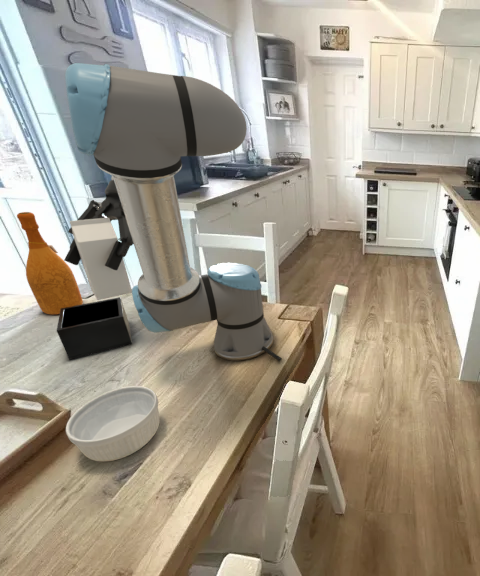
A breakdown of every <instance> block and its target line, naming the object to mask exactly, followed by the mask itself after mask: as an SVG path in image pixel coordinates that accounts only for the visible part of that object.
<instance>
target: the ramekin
mask: <svg viewBox="0 0 480 576" xmlns="http://www.w3.org/2000/svg"><path fill="white" fill-rule="evenodd" d="M159 426H160V412H159V398H158V396H157V394H156V392H155V391H154V390H153V389H152V388H149V387H147V386H143V385H128V386H123V387H119V388H115V389H112V390H108V391H106V392H104V393H102V394H100V395H97V396H95V397H93V398H92V399H90V400H88V401H86V403H84V404H83V405H81V406H80V407H79V408H78V409H76V411H75V412H74V413H73V414H72V415H71V416H70V417H69V419H68V420H67V423H66V425H65V434H66V436H67V439H68V440H69V441H70V442H71V443H72V444H73V445H75V446H76V448H78V450H79V451H80V453H82V454H83V455H84V456H85V457H86V458H88V459H89V460H91V461H94V462H113V461H118V460H121V459H123V458H124V459H125V458H126V457H128V456H130V455H133V454H135V453H136V452H138V451H139V450H140V449H142V448H144V447H145V446H146V445H147V444H148V443H149V442H150V441H151V440H152V438H153V437H154V436H155V434H156V433H157V431H158V429H159Z"/></svg>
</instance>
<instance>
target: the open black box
mask: <svg viewBox="0 0 480 576" xmlns="http://www.w3.org/2000/svg"><path fill="white" fill-rule="evenodd" d="M56 333H57V336H58V337H59V340H60V342H61V344H62V347H63V349H64V351H65V353H66V356H67V358H68V360H69V361H73V360H76V359H80V358H84V357H88V356H92V355H95V354H100V353H103V352H108V351H111V350H115V349H119V348H124V347H127V346H132V345H133V341H132V334H131V327H130V321H129V318H128V316H127V313H126V309H125V306H124V303H123V300H122V297H121V296H120V297H119V296H118V297H112V298H107V299H102V300H96V301H93V302H88V303H82V304H81V305H76V306H71V307H65V308H61V310H60V314H58V321H57V326H56Z"/></svg>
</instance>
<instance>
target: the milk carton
mask: <svg viewBox="0 0 480 576" xmlns="http://www.w3.org/2000/svg"><path fill="white" fill-rule="evenodd" d="M69 224H70V228H72V233H73V234H72V236H73V239H75V242H76V245H77V248H78V251H79V254H80V257H81V260H80V261H81V263H82V267H83V269H84V272H85V274H86V275H85V276H86V278H87V281H88V284H89V287H90V290H91V292H92V294H93V295H94V297H95V298H96V301H102V300H107V299H111V298H116V297H119V296H123V295H128V294H132V286H131V282H130V279H129V278H130V277H129V275H128V272H127V268H126V264H125V260H124V257H123V258H122V261H121V263H120V265H119V267H118V270H113V269H111V268H109V267H107V266H105V264H106V262H107V260H108V257H109V255H110V253H111V251H112V249H113V247H114V245H115V242H116V241H119V240H118V239H119V238H118V236H117V234H116V231H115V229H114V227H113V224H112V221H111V222H110V218H99V219H88V220H78V219H76V220H70V221H69Z"/></svg>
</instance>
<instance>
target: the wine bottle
mask: <svg viewBox="0 0 480 576" xmlns="http://www.w3.org/2000/svg"><path fill="white" fill-rule="evenodd" d="M16 217H17V220H18V221H19V223H20V226H21V229H22V230H23V231H25V234H26V237H27V246H28V254H27V259H26V264H25V265H26V266H25V275H26V277H25V278H26V281H27V283H28V286H29V288H30V290H31V292H32V295H33V297H34V299H35V300H36V302H37V305H38V306H39V308H40V310H41V312H43V313H44V314H46V315H60V310H61V308H65V307H71V306H76V305H81V304H84V302H83V301H84V300H83V297H82V295H81V291H80V288H79V285H78V283H77V280H76V277H75V275H74V273H73V270H72V269H71V267H70V266H69V265H68V264H67V262H66V261H64V260H65V259H63V258H62V257H61V256H60V255H58V253H59V252H58V251H57V249H56V248H55V247H54V246H53V245H52V244H48V242H46V241H45V239H44V238H43V236H42V235H41V233H40V231H39V228H40V226H39V224H38V223H37V220H36V215H35V214H34V213H33V212H31V211H22V212H18V213H17V214H16Z"/></svg>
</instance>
